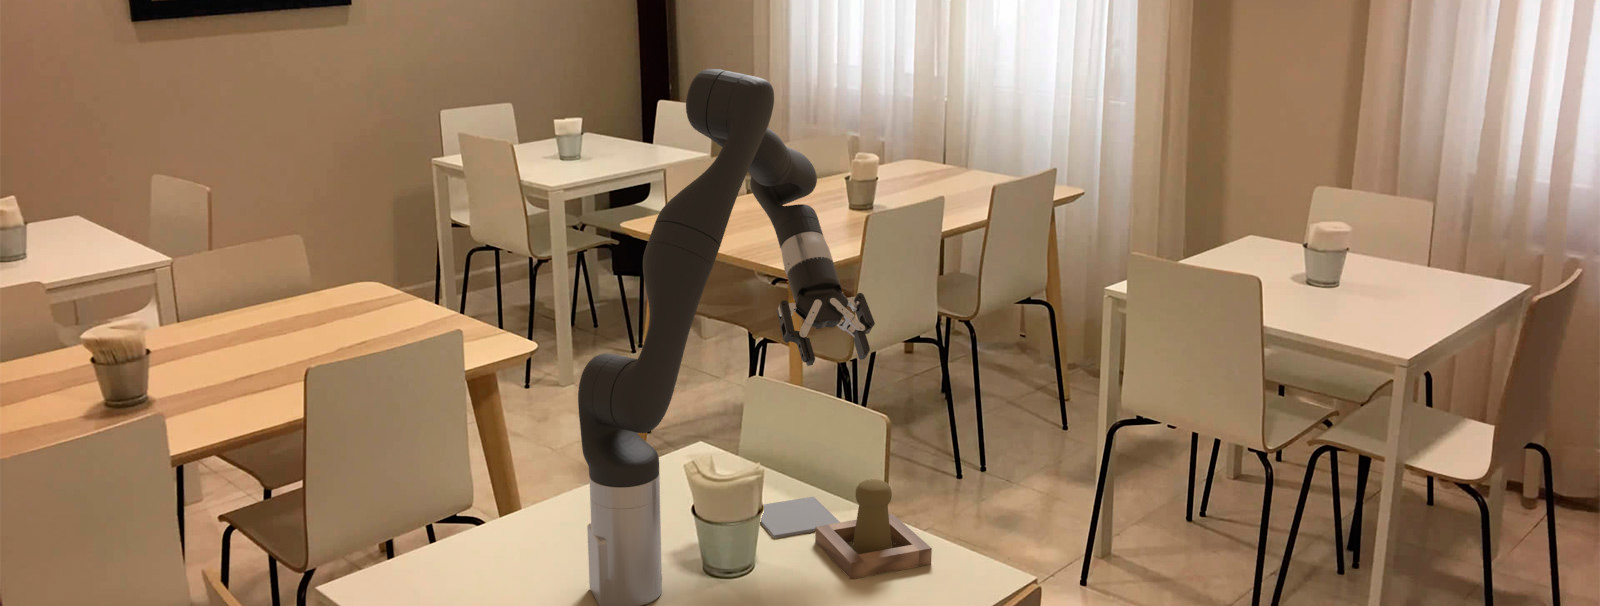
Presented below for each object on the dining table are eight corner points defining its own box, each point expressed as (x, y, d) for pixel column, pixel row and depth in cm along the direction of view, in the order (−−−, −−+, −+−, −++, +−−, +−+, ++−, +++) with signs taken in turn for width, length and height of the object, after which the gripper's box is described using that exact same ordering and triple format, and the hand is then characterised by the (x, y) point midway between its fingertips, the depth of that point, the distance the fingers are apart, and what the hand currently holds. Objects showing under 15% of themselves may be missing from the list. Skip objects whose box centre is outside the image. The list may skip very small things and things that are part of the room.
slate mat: (774, 538, 192) (774, 535, 192) (748, 509, 202) (748, 506, 202) (841, 526, 196) (841, 523, 196) (813, 499, 206) (813, 496, 206)
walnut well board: (850, 579, 180) (850, 562, 179) (815, 542, 191) (815, 526, 190) (931, 564, 184) (931, 548, 184) (892, 528, 196) (892, 513, 195)
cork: (890, 564, 184) (892, 492, 181) (848, 560, 185) (849, 489, 182) (895, 546, 190) (897, 476, 187) (854, 542, 191) (856, 472, 188)
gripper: (772, 259, 195) (800, 353, 187) (859, 251, 200) (889, 343, 192) (760, 284, 201) (787, 377, 194) (845, 277, 206) (873, 366, 199)
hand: (838, 360), depth 193 cm, fingers open, 8 cm apart
